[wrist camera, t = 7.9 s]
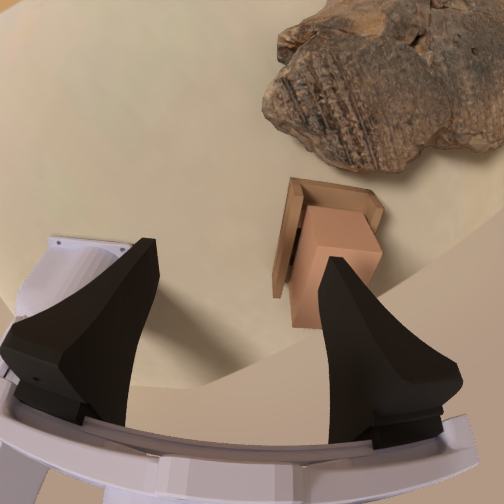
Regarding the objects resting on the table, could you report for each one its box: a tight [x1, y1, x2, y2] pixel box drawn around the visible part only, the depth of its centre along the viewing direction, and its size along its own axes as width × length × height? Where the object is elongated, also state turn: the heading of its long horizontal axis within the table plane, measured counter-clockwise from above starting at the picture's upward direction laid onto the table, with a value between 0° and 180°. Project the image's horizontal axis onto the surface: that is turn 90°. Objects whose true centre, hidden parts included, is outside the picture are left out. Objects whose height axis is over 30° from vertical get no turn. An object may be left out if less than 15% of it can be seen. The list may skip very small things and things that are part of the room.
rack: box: [272, 177, 384, 298], centre depth 22 cm, size 9×6×3 cm
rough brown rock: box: [262, 0, 504, 173], centre depth 13 cm, size 14×5×20 cm
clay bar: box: [288, 205, 383, 329], centre depth 20 cm, size 7×4×4 cm, turn 174°
